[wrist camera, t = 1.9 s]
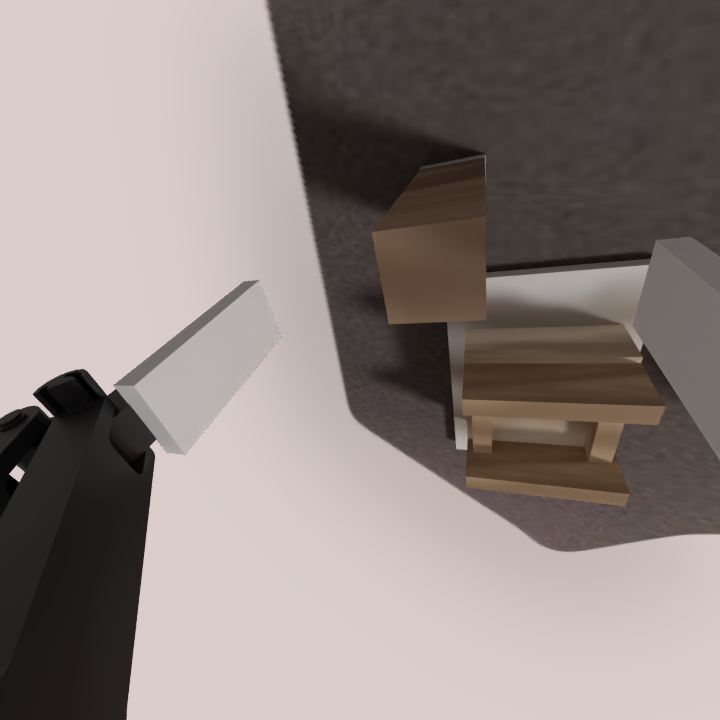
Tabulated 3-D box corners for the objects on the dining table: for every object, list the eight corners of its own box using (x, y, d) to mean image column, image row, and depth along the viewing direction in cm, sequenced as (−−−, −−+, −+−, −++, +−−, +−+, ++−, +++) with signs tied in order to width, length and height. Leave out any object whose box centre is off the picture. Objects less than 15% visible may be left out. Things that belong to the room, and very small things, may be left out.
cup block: (445, 276, 27) (432, 337, 21) (661, 257, 23) (737, 330, 16) (456, 441, 39) (451, 517, 32) (603, 452, 34) (633, 544, 27)
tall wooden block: (421, 166, 23) (370, 230, 13) (485, 153, 22) (487, 214, 11) (427, 227, 26) (387, 325, 15) (485, 219, 24) (487, 321, 14)
